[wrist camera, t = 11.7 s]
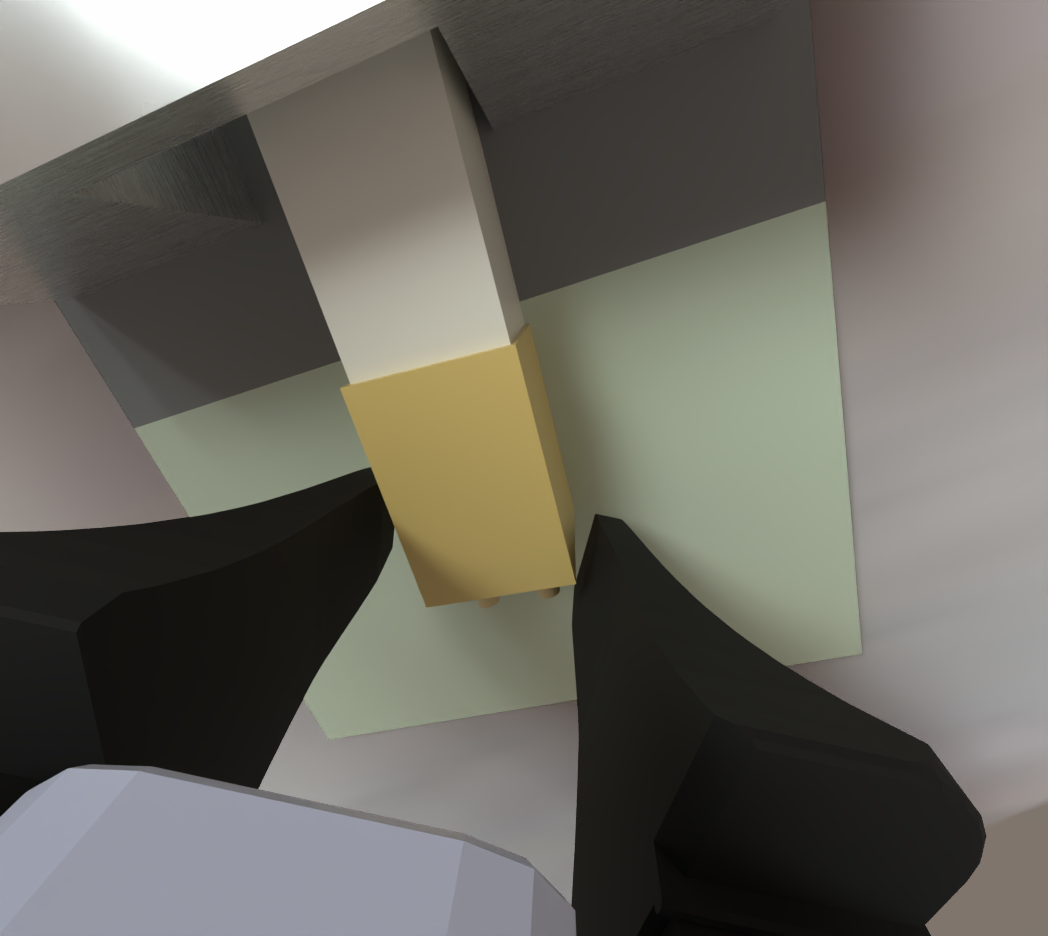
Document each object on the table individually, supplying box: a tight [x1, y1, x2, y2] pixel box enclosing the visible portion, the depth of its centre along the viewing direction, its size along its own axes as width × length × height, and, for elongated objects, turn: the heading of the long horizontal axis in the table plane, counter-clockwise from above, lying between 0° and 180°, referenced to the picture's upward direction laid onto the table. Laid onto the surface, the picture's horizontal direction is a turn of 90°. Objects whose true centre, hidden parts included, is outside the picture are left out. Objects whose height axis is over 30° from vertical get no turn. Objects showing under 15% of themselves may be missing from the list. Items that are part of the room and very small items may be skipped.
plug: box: [247, 26, 576, 608], centre depth 8 cm, size 16×3×3 cm, turn 14°
